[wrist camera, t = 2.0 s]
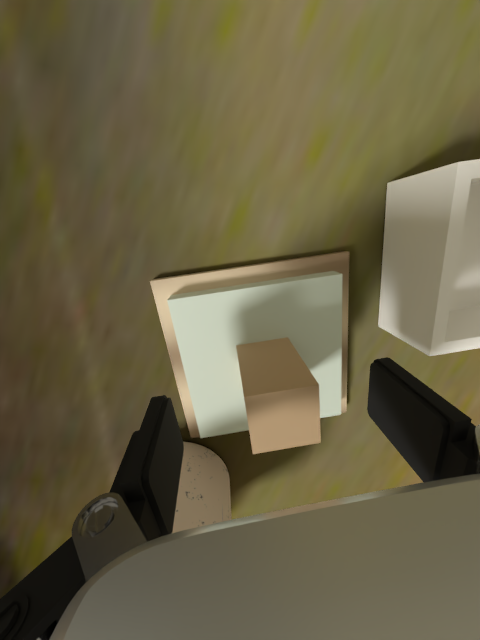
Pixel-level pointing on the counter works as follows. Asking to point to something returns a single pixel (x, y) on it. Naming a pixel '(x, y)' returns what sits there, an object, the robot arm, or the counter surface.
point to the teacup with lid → (202, 489)
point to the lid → (263, 357)
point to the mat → (238, 277)
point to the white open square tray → (433, 259)
